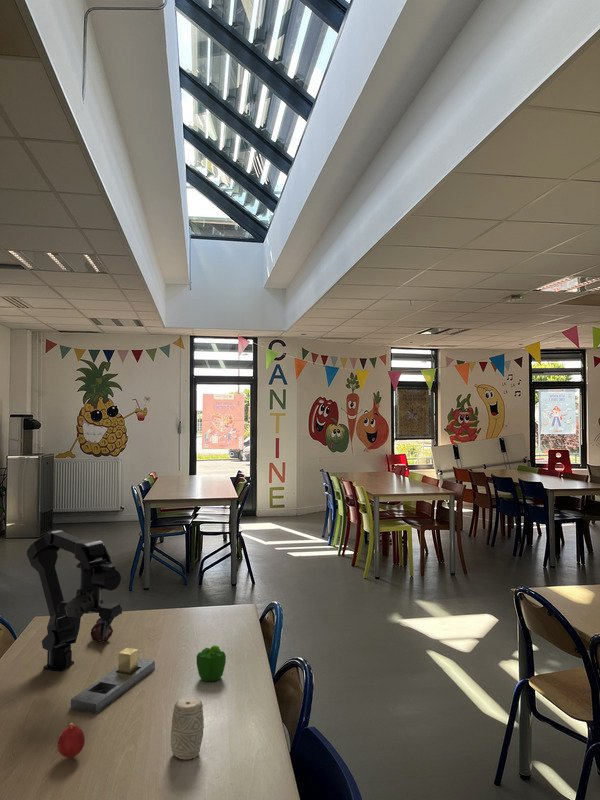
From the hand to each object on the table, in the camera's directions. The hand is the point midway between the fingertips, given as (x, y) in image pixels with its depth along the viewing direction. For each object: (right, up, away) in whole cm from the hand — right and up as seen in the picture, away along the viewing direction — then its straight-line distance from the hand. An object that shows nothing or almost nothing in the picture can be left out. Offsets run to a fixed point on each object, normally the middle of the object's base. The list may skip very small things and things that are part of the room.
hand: (89, 637), depth 168 cm
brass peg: (+11, -12, 0) cm, 17 cm away
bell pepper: (+36, -13, +1) cm, 38 cm away
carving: (+36, -12, -37) cm, 53 cm away
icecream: (-6, -13, +27) cm, 31 cm away
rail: (+10, -12, -6) cm, 16 cm away
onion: (+10, -11, -39) cm, 42 cm away
